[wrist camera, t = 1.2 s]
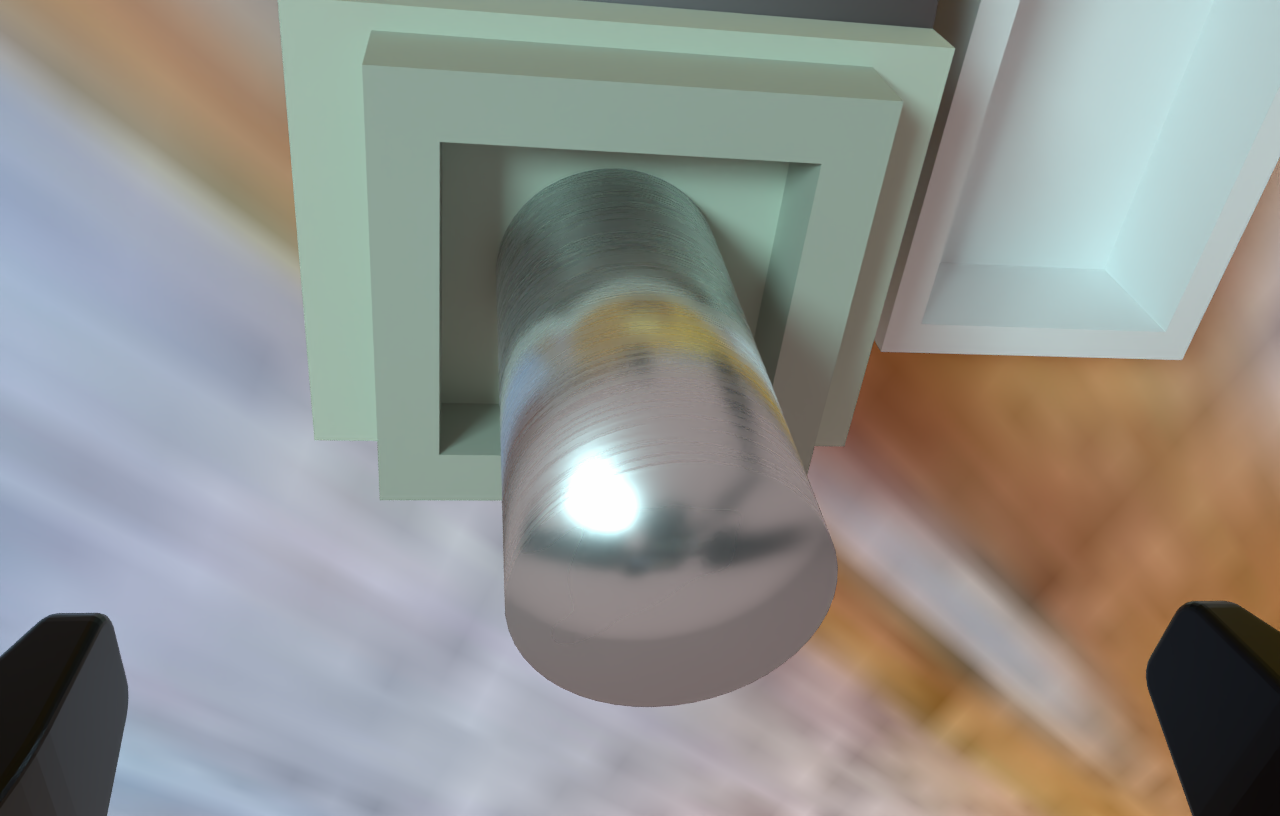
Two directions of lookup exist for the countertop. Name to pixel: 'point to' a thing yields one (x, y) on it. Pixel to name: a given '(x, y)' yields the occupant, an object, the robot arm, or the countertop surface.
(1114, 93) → the tray
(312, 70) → the grey-green hollow stepped block
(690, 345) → the pin
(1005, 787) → the countertop surface
